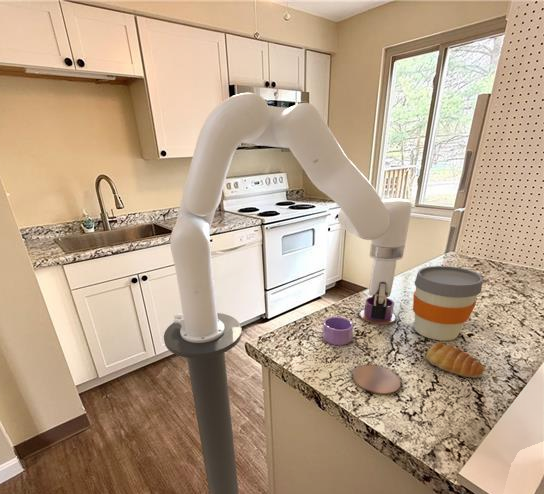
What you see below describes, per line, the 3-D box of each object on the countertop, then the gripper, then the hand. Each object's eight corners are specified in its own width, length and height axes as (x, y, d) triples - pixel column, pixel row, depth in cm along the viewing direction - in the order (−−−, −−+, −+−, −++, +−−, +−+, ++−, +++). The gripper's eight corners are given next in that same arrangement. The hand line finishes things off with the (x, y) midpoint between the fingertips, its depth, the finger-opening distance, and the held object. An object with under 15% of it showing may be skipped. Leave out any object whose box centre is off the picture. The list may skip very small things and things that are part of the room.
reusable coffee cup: (398, 318, 84) (407, 266, 78) (450, 318, 82) (464, 264, 75) (418, 344, 73) (431, 286, 67) (479, 345, 71) (498, 284, 64)
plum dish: (363, 319, 85) (365, 305, 83) (364, 308, 90) (366, 295, 88) (391, 322, 82) (394, 308, 80) (391, 311, 87) (393, 297, 85)
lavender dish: (321, 342, 78) (321, 328, 76) (324, 329, 83) (325, 315, 82) (350, 347, 75) (351, 332, 73) (352, 332, 80) (353, 318, 79)
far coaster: (358, 321, 85) (358, 320, 85) (360, 307, 92) (360, 306, 92) (395, 326, 81) (396, 325, 81) (394, 311, 88) (394, 310, 88)
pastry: (488, 370, 63) (493, 355, 61) (473, 385, 60) (478, 369, 58) (436, 350, 70) (440, 336, 69) (421, 362, 67) (424, 348, 66)
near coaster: (351, 388, 63) (351, 386, 63) (354, 363, 70) (354, 361, 69) (401, 399, 59) (401, 397, 59) (399, 371, 66) (399, 369, 66)
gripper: (370, 240, 87) (364, 295, 94) (369, 260, 73) (361, 323, 80) (402, 241, 83) (392, 298, 91) (406, 262, 70) (394, 327, 77)
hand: (377, 310), depth 85 cm, fingers open, 9 cm apart
